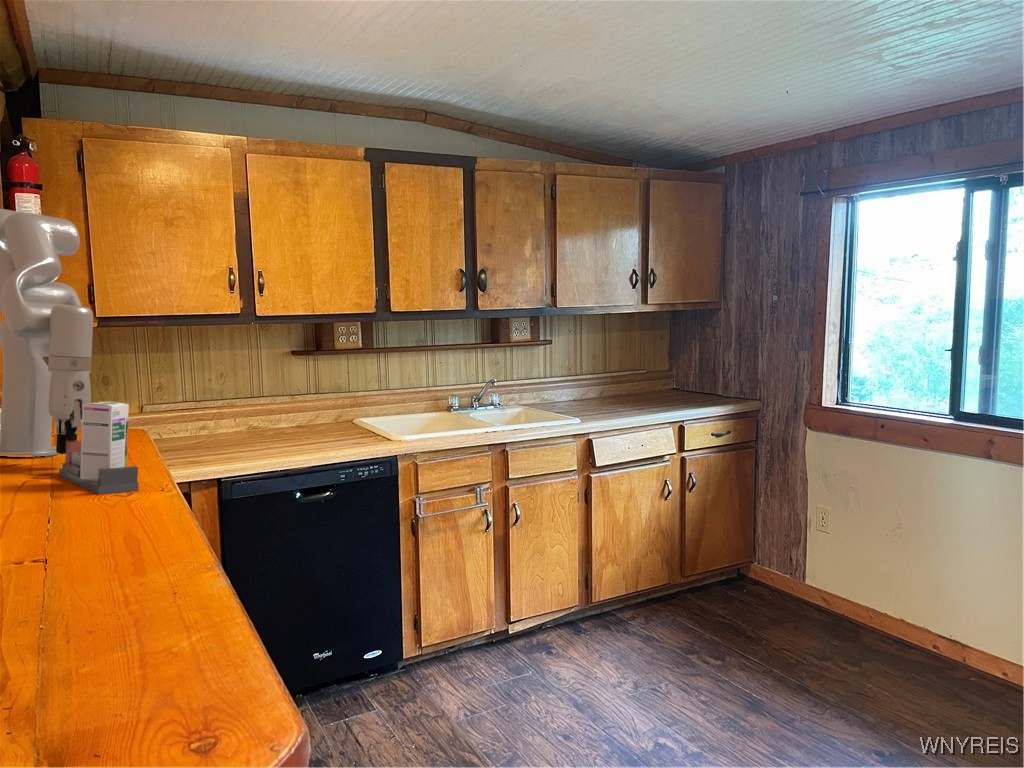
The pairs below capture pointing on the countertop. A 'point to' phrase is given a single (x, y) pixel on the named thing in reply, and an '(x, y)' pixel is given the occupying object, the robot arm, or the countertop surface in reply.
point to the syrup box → (103, 438)
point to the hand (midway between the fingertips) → (66, 452)
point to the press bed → (104, 479)
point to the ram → (73, 453)
